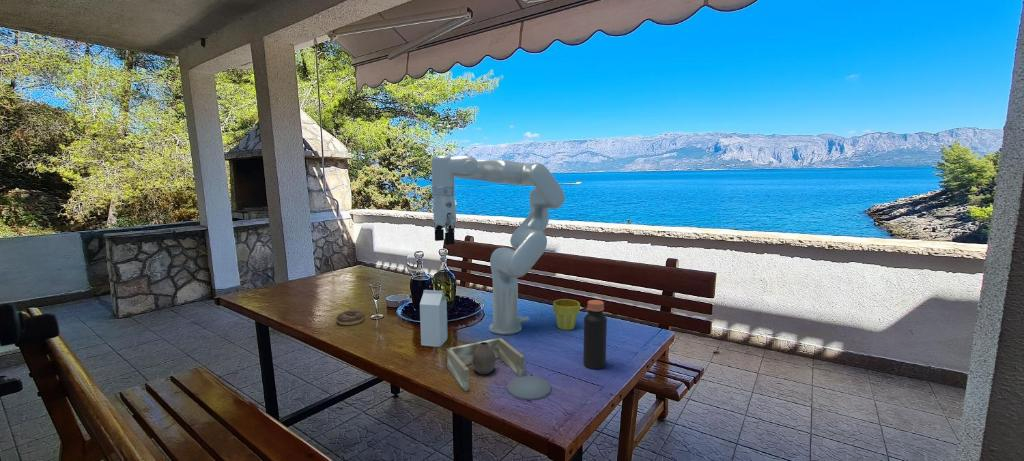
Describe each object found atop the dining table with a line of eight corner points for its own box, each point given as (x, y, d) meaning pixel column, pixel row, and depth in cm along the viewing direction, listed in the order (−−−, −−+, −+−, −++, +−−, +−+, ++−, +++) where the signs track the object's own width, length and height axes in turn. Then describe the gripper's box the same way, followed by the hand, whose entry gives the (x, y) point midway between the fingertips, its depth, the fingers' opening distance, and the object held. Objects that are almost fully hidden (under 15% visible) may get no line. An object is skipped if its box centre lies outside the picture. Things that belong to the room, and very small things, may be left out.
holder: (500, 355, 133) (500, 337, 132) (524, 376, 119) (524, 356, 118) (446, 367, 125) (446, 348, 124) (465, 391, 110) (464, 370, 110)
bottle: (601, 371, 121) (602, 306, 119) (579, 366, 125) (580, 303, 122) (608, 363, 127) (610, 301, 124) (588, 358, 131) (589, 297, 128)
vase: (472, 366, 125) (472, 339, 124) (495, 365, 126) (494, 338, 125) (472, 377, 118) (472, 348, 117) (496, 376, 119) (495, 347, 118)
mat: (536, 374, 120) (536, 372, 120) (559, 392, 109) (559, 390, 109) (500, 383, 114) (500, 381, 114) (520, 404, 104) (520, 402, 104)
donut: (355, 316, 173) (354, 306, 172) (370, 321, 166) (369, 311, 166) (331, 323, 164) (330, 313, 164) (346, 328, 158) (345, 318, 157)
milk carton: (440, 347, 139) (438, 293, 137) (420, 345, 141) (419, 292, 138) (447, 339, 146) (446, 288, 144) (429, 338, 148) (427, 287, 145)
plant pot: (585, 328, 157) (585, 303, 156) (565, 333, 151) (565, 308, 150) (567, 320, 165) (567, 297, 164) (547, 325, 160) (547, 301, 158)
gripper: (463, 193, 132) (464, 244, 134) (444, 191, 147) (445, 238, 149) (441, 193, 128) (443, 246, 130) (424, 192, 143) (425, 240, 145)
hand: (444, 242), depth 140 cm, fingers open, 9 cm apart
